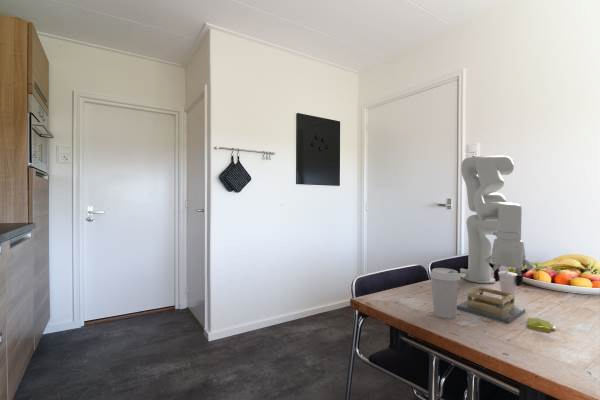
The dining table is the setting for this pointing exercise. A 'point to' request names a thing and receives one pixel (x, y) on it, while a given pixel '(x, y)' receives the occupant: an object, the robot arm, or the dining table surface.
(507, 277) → the smoothie
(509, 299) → the collar stand
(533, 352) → the dining table surface
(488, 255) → the robot arm
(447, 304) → the coffee cup
